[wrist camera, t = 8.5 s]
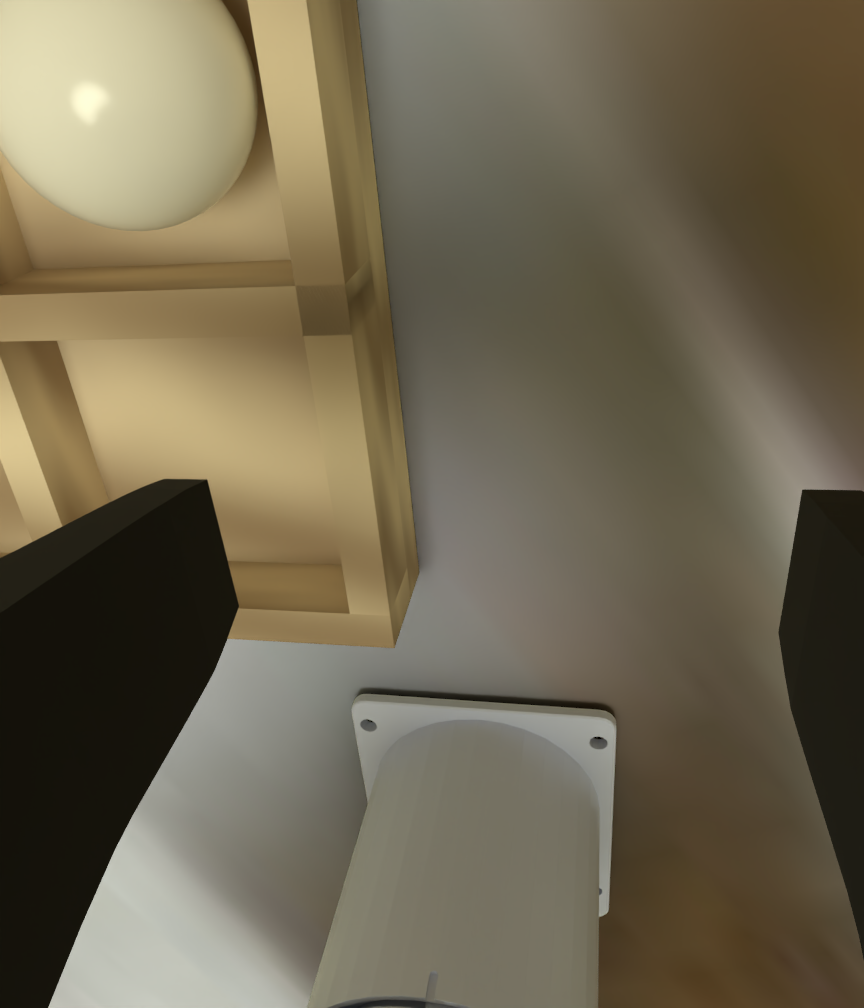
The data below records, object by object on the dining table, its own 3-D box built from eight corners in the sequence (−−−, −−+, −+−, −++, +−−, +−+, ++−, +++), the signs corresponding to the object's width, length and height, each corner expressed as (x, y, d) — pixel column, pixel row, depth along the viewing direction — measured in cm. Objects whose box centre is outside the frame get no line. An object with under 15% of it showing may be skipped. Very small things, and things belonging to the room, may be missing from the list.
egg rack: (419, 572, 23) (394, 648, 20) (-104, 552, 26) (-184, 615, 24) (331, -226, 14) (268, -277, 12) (-429, -107, 18) (-614, -125, 15)
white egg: (265, 191, 18) (297, 229, 14) (43, 226, 17) (13, 277, 13) (215, -64, 16) (238, -103, 12) (-45, -39, 15) (-112, -73, 11)
